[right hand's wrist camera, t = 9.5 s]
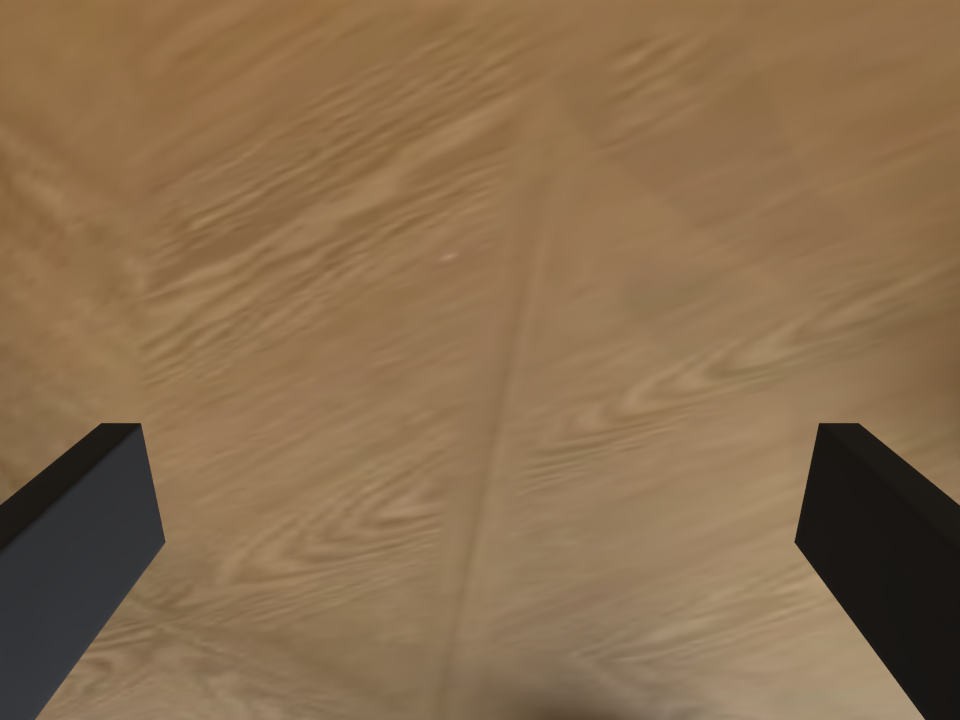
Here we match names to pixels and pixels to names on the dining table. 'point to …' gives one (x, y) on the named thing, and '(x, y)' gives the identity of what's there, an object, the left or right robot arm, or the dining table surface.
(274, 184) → the dining table surface
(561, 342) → the dining table surface
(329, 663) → the dining table surface
